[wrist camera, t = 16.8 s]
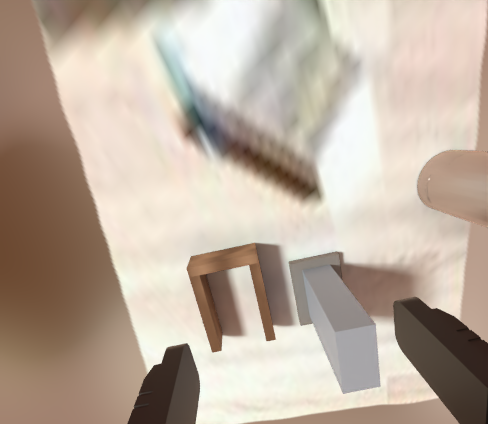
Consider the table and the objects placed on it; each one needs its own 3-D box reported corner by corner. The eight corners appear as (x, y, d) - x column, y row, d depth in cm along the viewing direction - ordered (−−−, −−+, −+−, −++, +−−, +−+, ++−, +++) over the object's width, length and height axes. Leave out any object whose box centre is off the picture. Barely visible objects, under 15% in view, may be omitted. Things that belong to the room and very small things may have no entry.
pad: (336, 251, 42) (338, 254, 41) (344, 312, 45) (346, 316, 44) (288, 261, 42) (289, 264, 41) (299, 321, 46) (300, 325, 45)
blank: (329, 264, 42) (375, 324, 28) (335, 311, 44) (380, 386, 31) (302, 270, 42) (335, 332, 28) (309, 316, 44) (343, 393, 31)
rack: (254, 242, 41) (257, 253, 37) (272, 322, 45) (275, 339, 42) (191, 256, 41) (186, 268, 38) (214, 334, 46) (212, 352, 42)
